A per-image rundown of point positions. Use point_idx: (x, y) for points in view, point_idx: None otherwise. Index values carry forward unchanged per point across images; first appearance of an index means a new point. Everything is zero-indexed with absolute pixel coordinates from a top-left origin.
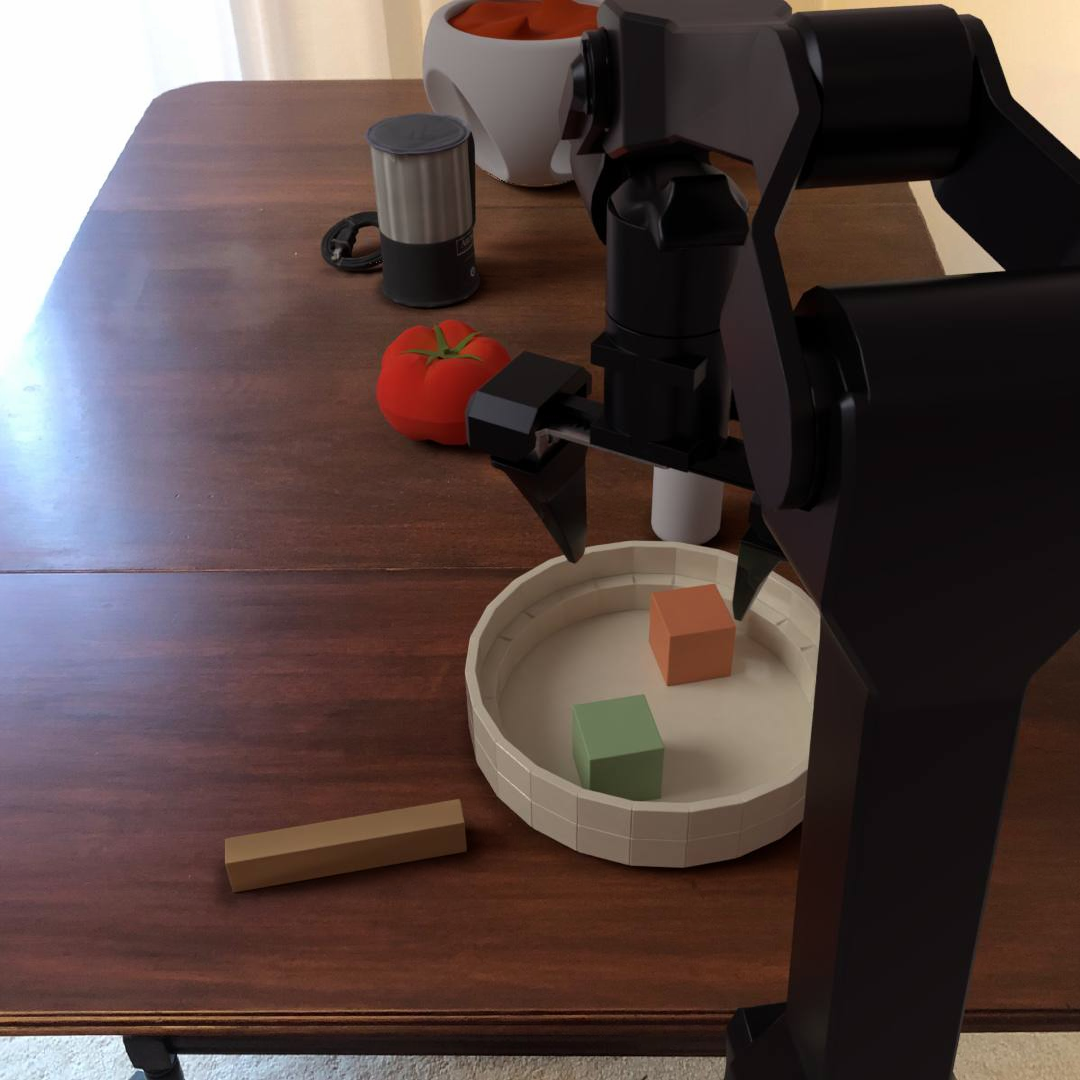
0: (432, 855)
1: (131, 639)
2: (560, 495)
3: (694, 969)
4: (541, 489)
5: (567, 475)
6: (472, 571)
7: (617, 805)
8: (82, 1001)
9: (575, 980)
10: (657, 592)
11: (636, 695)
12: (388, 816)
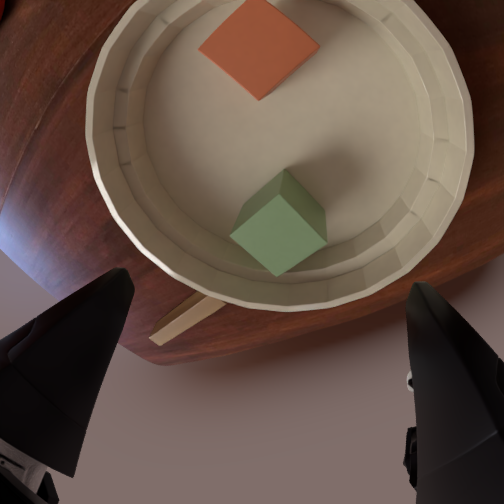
0: None
1: (28, 245)
2: (72, 410)
3: (382, 293)
4: (78, 453)
5: (46, 413)
6: (63, 86)
7: (318, 308)
8: (170, 364)
9: (327, 317)
10: (202, 45)
11: (273, 198)
12: (190, 313)
